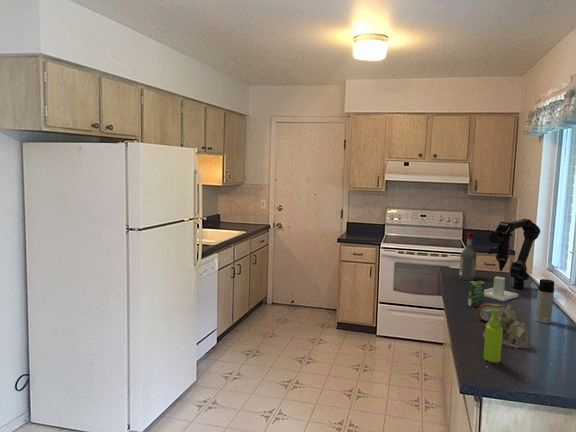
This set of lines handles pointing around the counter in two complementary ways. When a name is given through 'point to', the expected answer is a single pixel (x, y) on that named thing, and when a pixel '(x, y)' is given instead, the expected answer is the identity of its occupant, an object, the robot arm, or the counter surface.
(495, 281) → the block
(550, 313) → the spray can
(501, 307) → the tin
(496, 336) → the soap dispenser
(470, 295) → the coffee box
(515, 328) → the grey brown jagged piece
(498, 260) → the robot arm
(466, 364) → the counter surface
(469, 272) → the liquor
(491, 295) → the tray
